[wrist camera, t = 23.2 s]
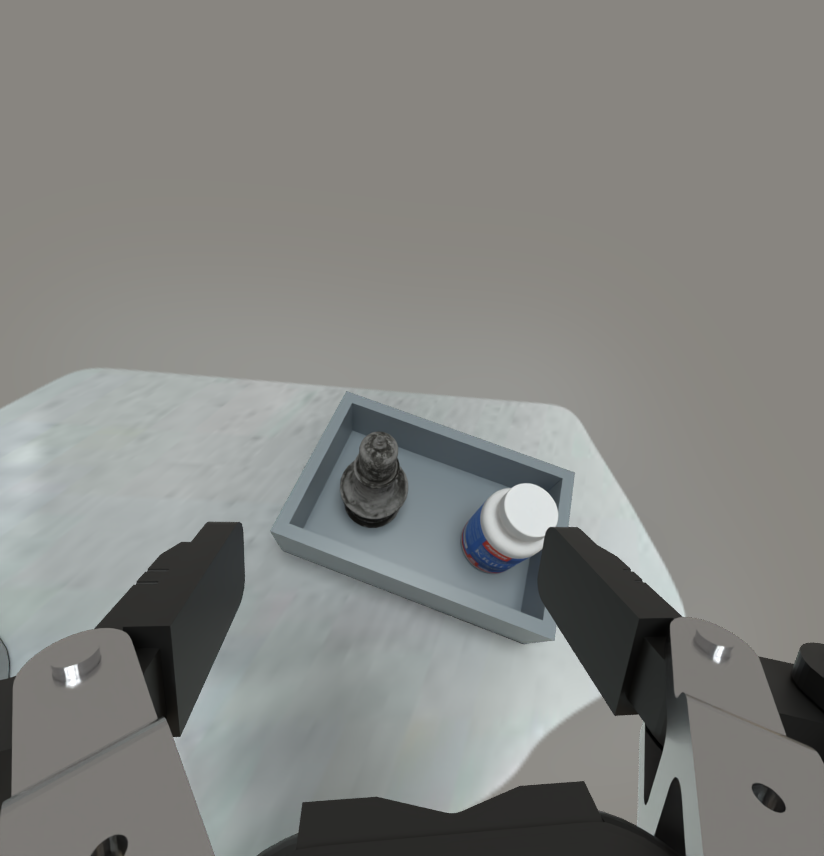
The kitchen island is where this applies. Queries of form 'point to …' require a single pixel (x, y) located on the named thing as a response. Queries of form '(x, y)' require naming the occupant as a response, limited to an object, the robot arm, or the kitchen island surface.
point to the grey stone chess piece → (374, 482)
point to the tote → (423, 519)
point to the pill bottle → (508, 527)
